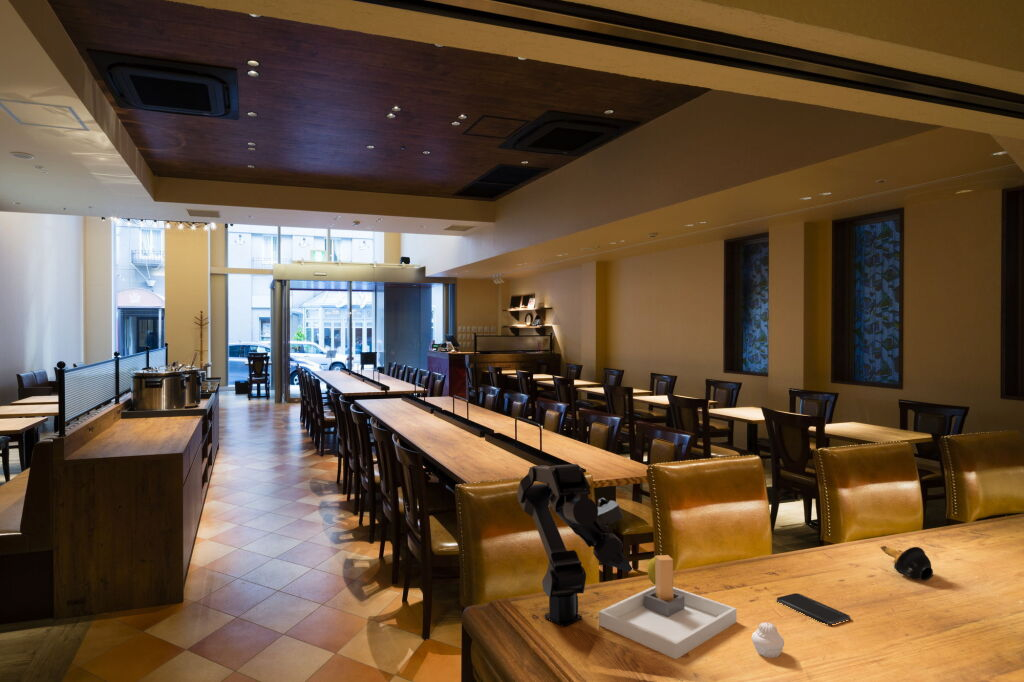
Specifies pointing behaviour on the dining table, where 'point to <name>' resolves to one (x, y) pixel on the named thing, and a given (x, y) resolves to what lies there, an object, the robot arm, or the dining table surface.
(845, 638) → the dining table surface
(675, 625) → the walled tray
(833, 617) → the phone
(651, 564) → the lemon
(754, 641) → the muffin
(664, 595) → the tan square peg
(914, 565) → the toilet plunger
